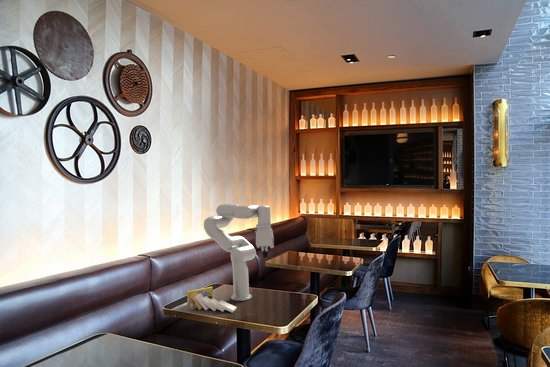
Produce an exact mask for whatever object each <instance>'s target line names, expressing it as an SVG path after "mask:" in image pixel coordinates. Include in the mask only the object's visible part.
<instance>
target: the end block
mask: <svg viewBox="0 0 550 367" xmlns="http://www.w3.org/2000/svg"><path fill="white" fill-rule="evenodd" d="M197 308H198V307H197V305H196V304H195V302H194V301H193V299H192V297H190V298H188V305H187V310H190V311H192V310H194V309H197Z"/></svg>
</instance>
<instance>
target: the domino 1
mask: <svg viewBox="0 0 550 367" xmlns="http://www.w3.org/2000/svg"><path fill="white" fill-rule="evenodd" d="M196 295H198V293H197V291H195V292H194V293H192V294H191V295H190V296H191V297H192V299H193V301H194V302H195V304H196V305H197V307H196V308H198V310H201V309H204V308H203V307H202V306H201V304H200V303H199V302H198V301H197V300H196V299H195V298H194V297H195V296H196Z"/></svg>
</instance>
